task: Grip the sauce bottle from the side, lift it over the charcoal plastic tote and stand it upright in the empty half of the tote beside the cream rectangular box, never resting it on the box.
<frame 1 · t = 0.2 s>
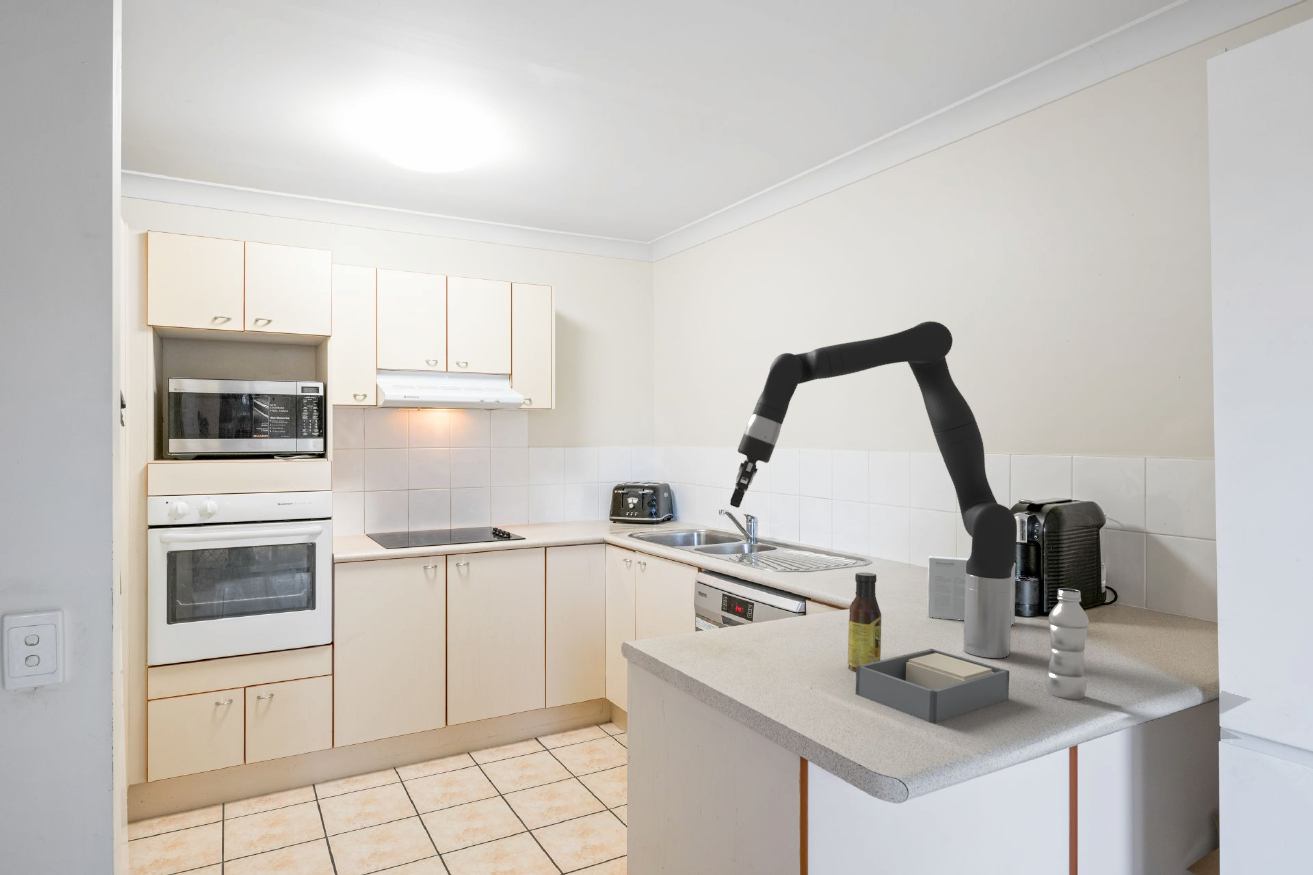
hand: (734, 505, 174), 31 cm above the countertop, tool tilted 20°, fingers open, 8 cm apart
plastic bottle: (1065, 700, 141), on the countertop
cream rectangular box: (948, 691, 140), point 1 cm above the countertop, touching tote
skincare box: (969, 620, 200), on the countertop
tote: (931, 701, 137), on the countertop
sauce bottle: (863, 674, 152), on the countertop
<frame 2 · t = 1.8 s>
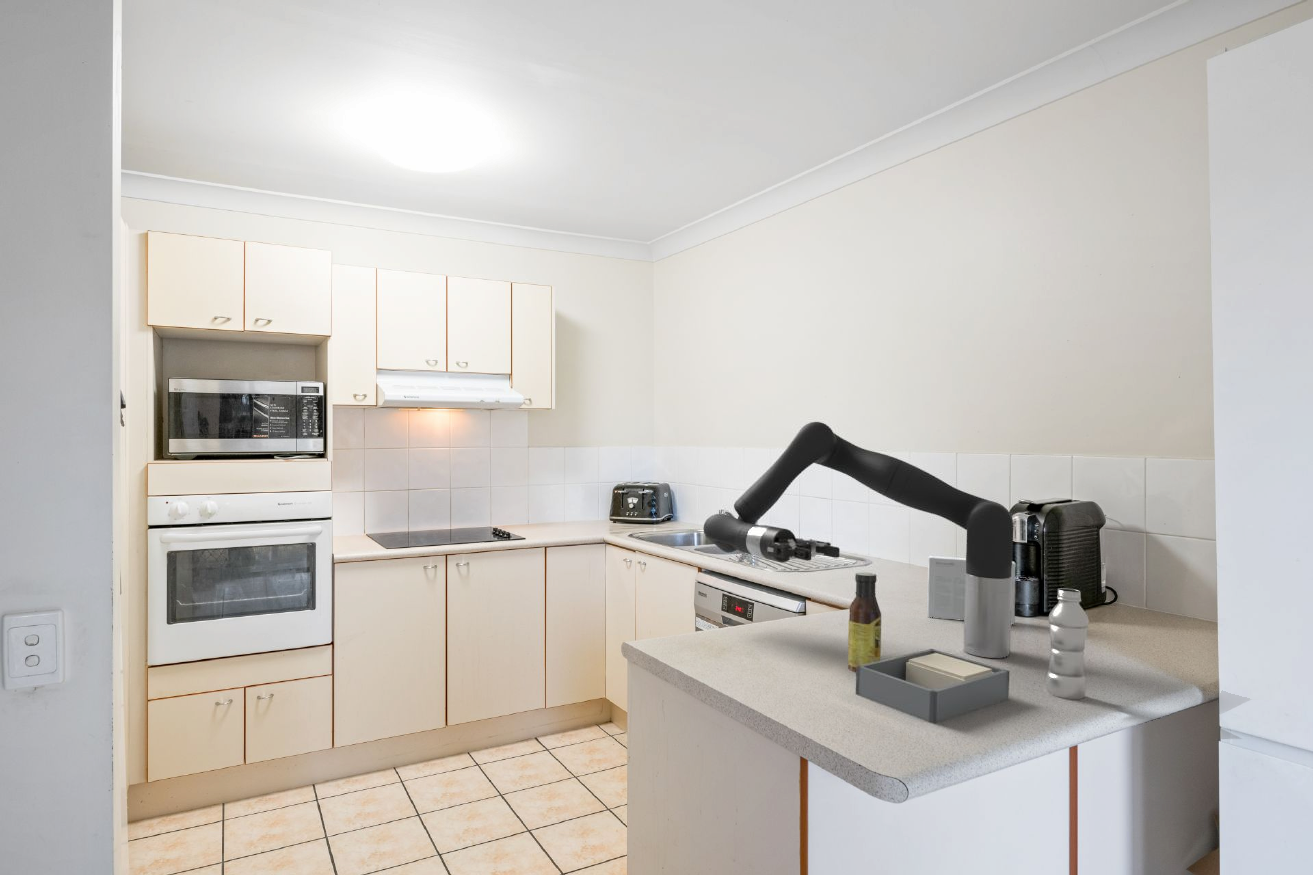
hand: (824, 554, 161), 22 cm above the countertop, tool horizontal, fingers open, 8 cm apart
nothing on the countertop moved.
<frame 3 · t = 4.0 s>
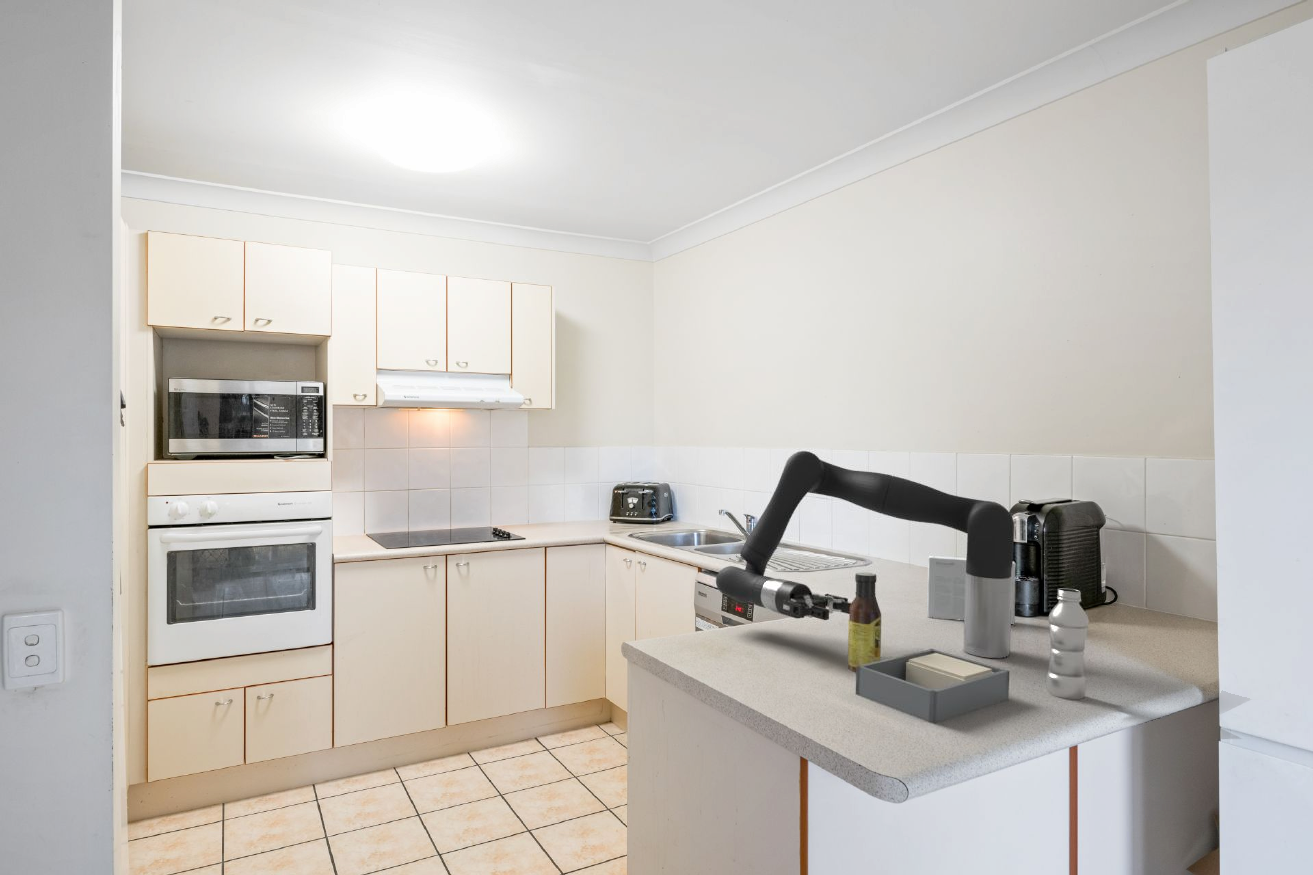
hand: (842, 612, 157), 11 cm above the countertop, tool horizontal, fingers open, 8 cm apart
nothing on the countertop moved.
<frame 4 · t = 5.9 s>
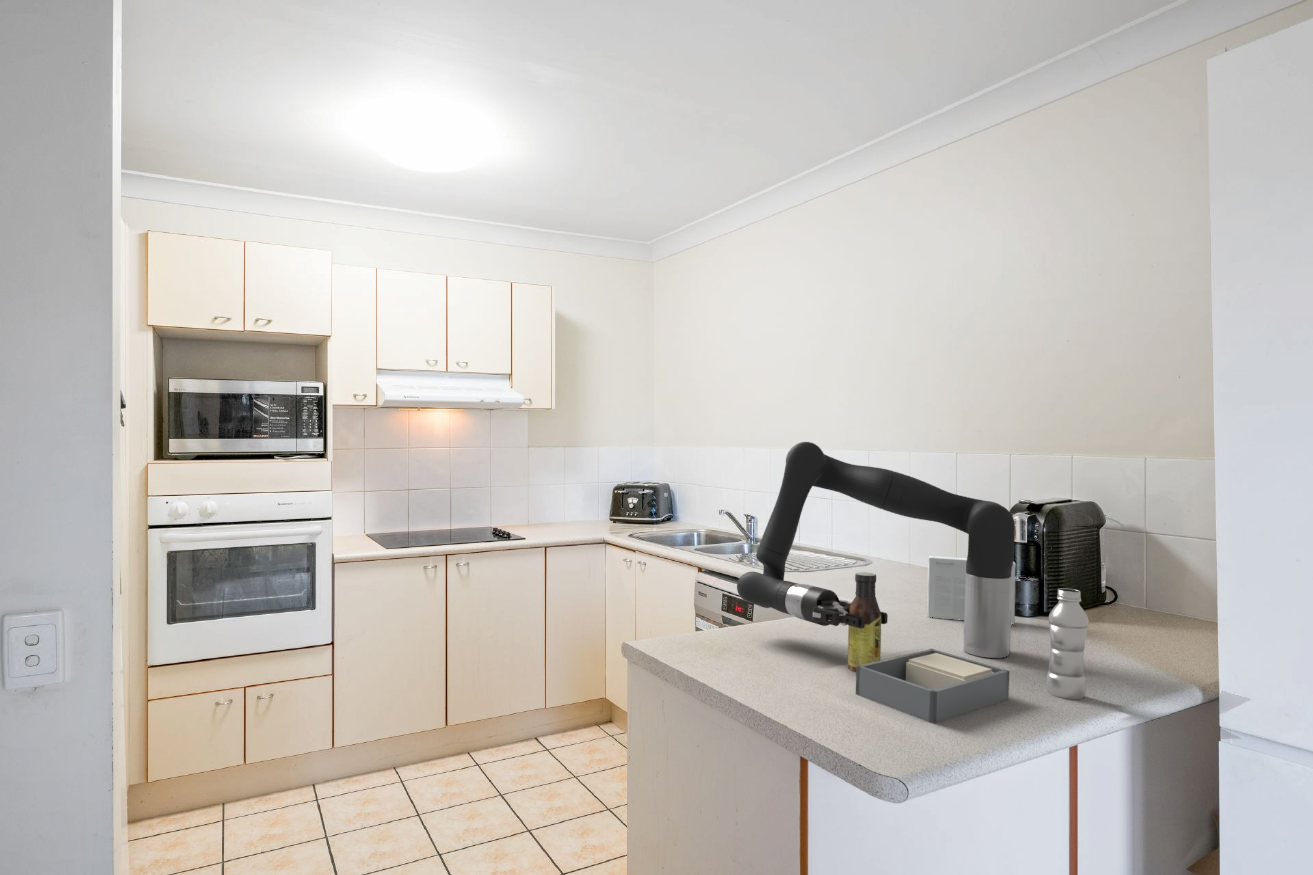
hand: (875, 620, 150), 11 cm above the countertop, tool horizontal, fingers closed on sauce bottle, 6 cm apart
sauce bottle: (863, 674, 152), on the countertop, touching gripper
everything else where it was.
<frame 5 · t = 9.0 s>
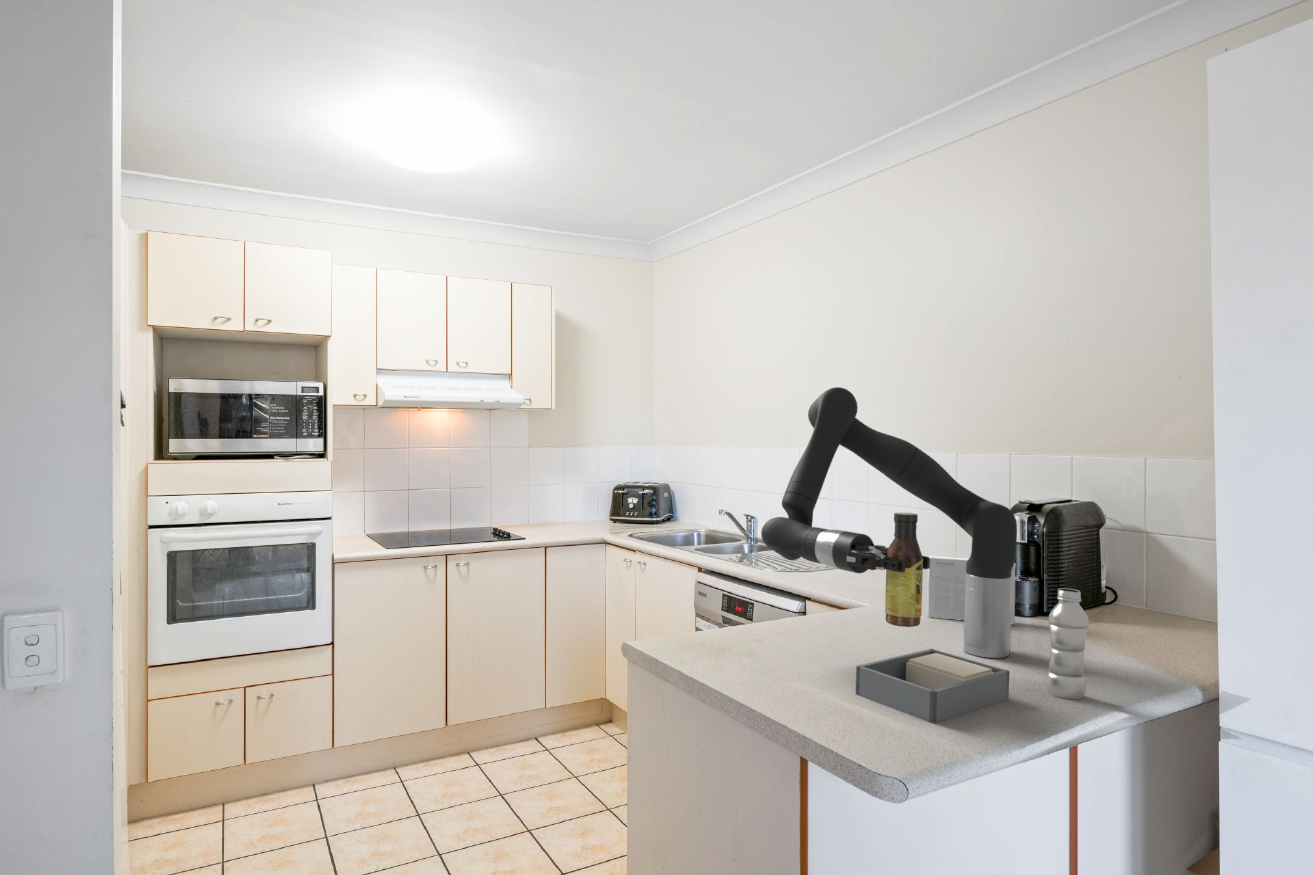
hand: (916, 564, 136), 25 cm above the countertop, tool horizontal, fingers closed on sauce bottle, 6 cm apart
sauce bottle: (902, 624, 138), point 13 cm above the countertop, touching gripper
everything else where it was.
when the fingers open (13 cm above the countertop, at t = 12.2 s): sauce bottle drops 1 cm, resting on tote.
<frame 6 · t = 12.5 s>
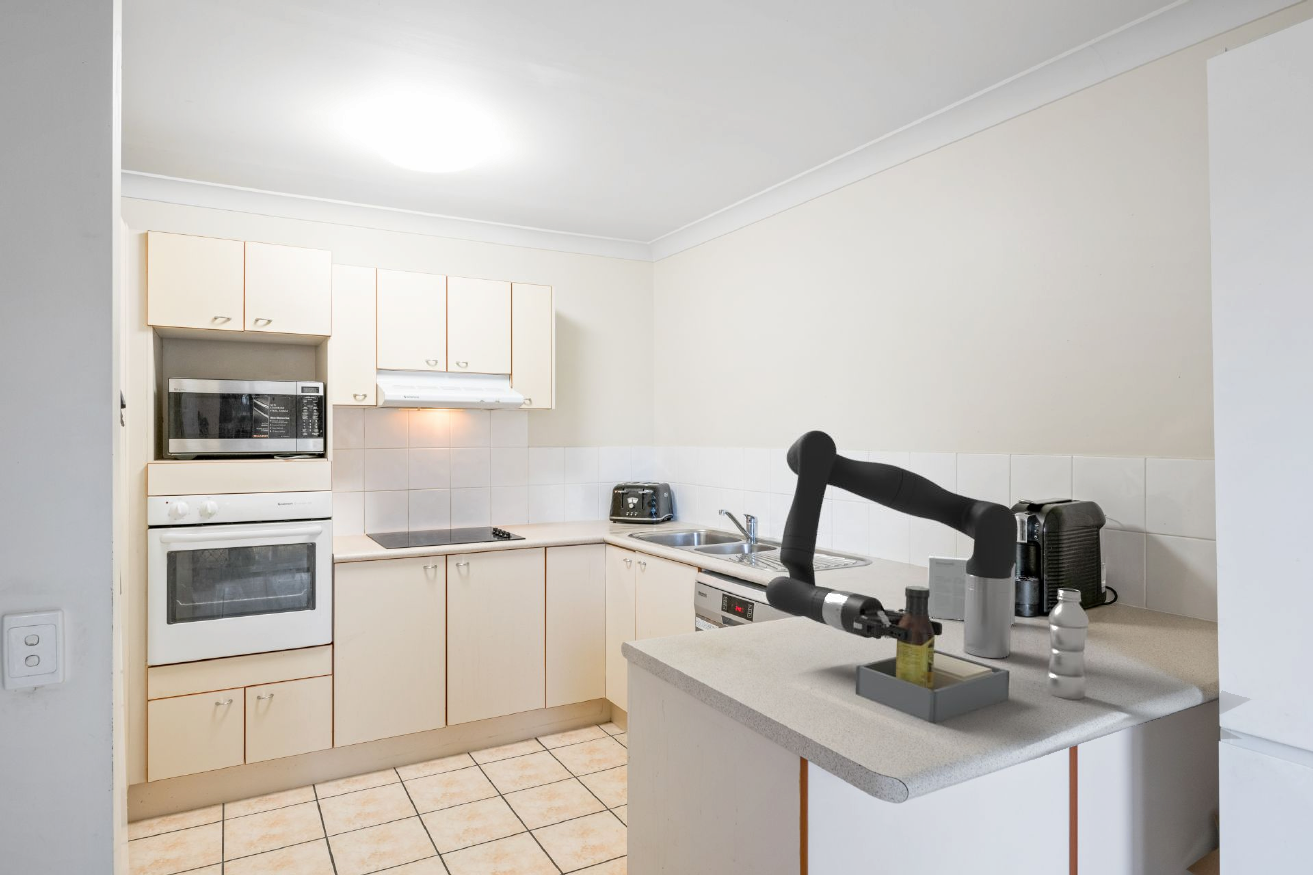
hand: (926, 632, 133), 13 cm above the countertop, tool horizontal, fingers open, 8 cm apart
sauce bottle: (912, 701, 134), point 1 cm above the countertop, touching tote
everything else where it was.
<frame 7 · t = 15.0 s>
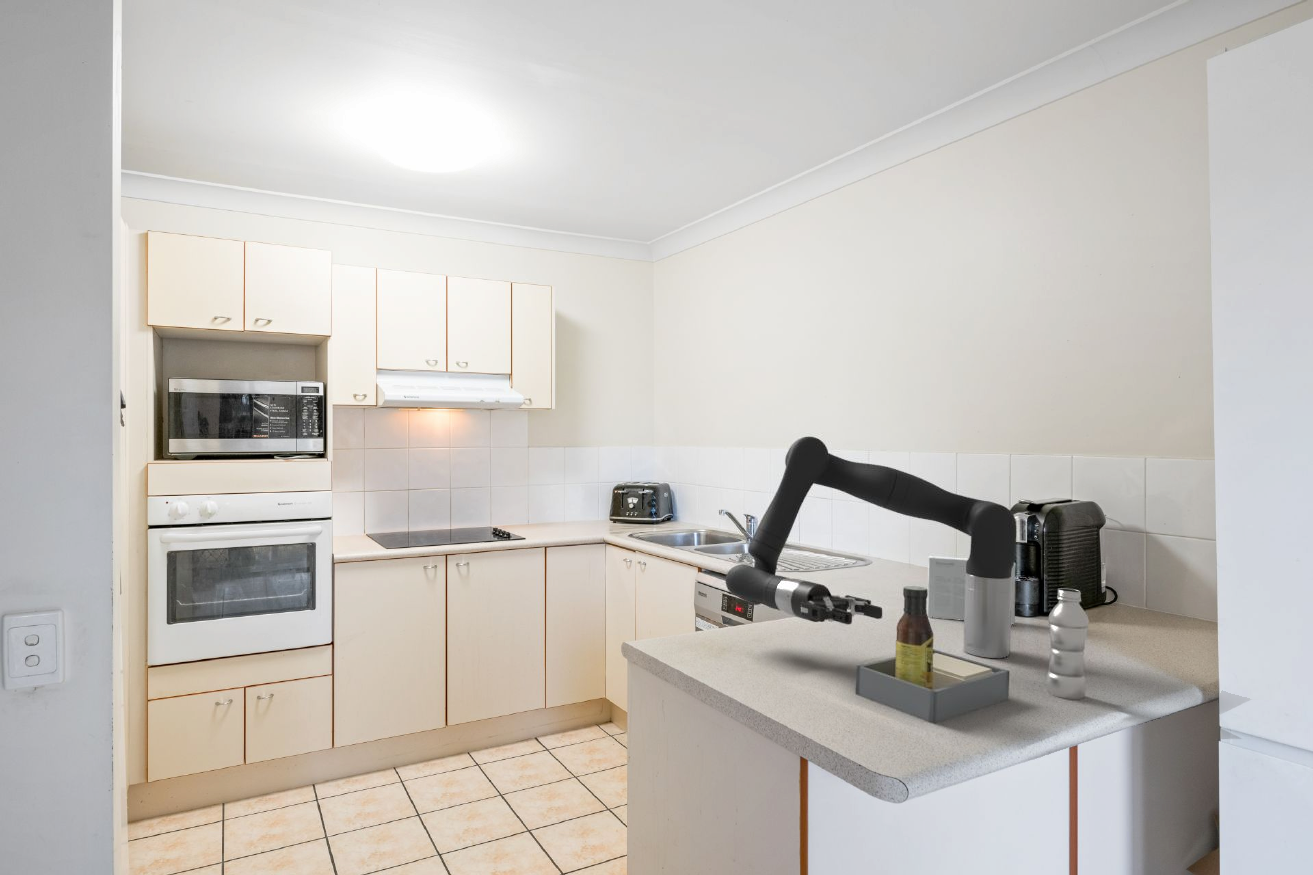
hand: (866, 616, 143), 14 cm above the countertop, tool horizontal, fingers open, 8 cm apart
nothing on the countertop moved.
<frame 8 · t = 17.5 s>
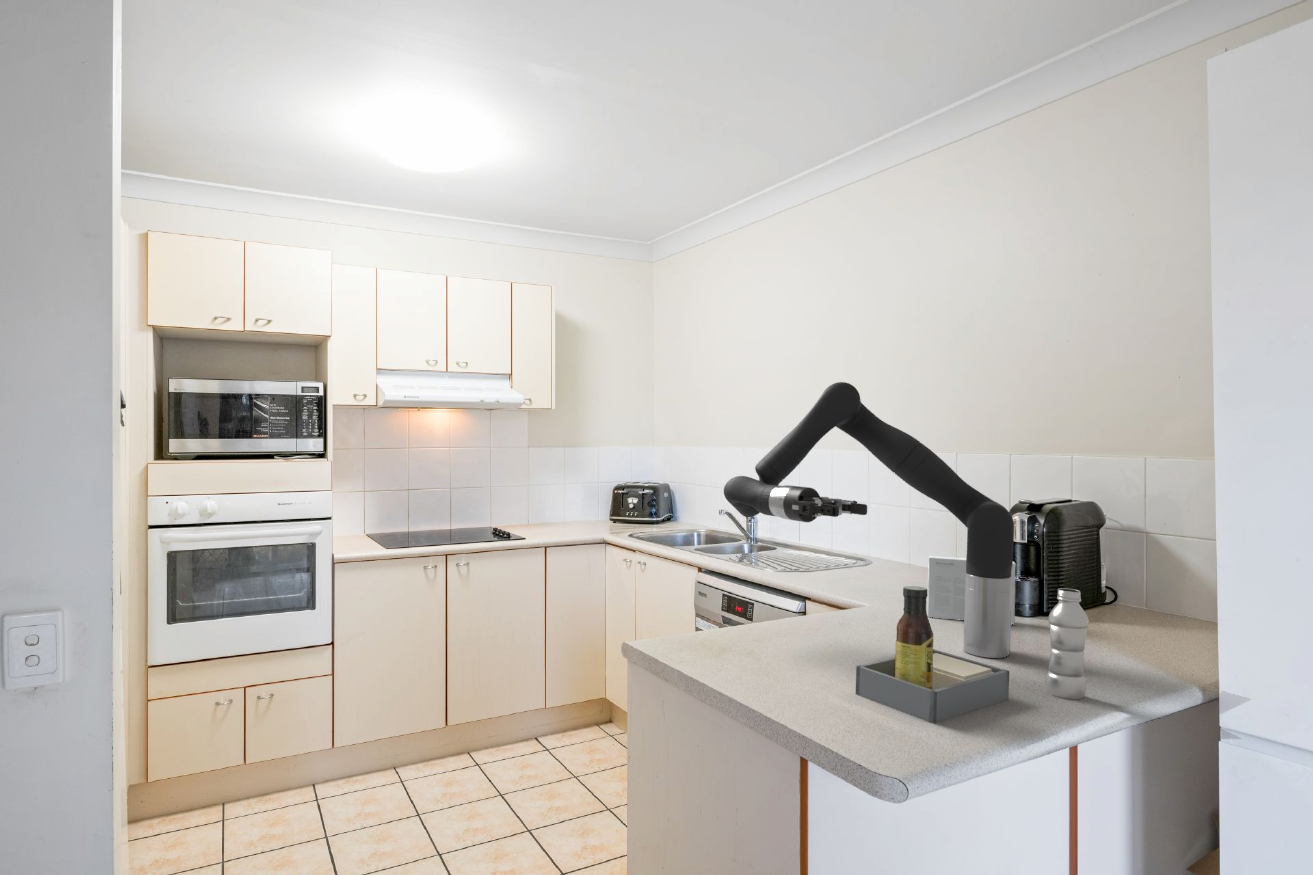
hand: (852, 510, 155), 32 cm above the countertop, tool horizontal, fingers open, 8 cm apart
nothing on the countertop moved.
at the end: sauce bottle inside the target area on the tote (0.2 cm from its centre), point 0.8 cm above the tote's base; sauce bottle tilted 0°; cream rectangular box moved 0.0 cm from its start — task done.
